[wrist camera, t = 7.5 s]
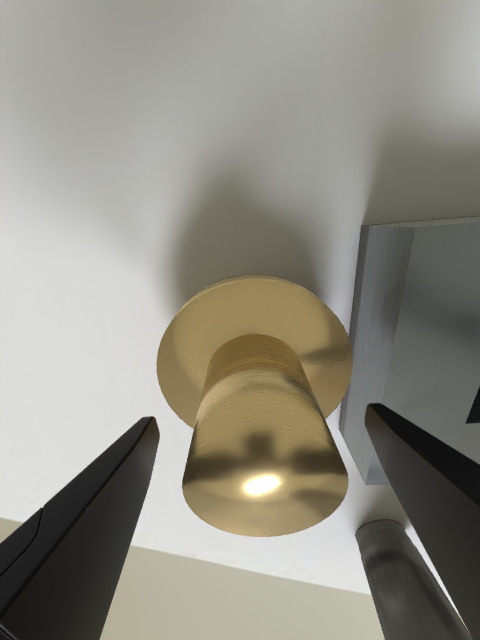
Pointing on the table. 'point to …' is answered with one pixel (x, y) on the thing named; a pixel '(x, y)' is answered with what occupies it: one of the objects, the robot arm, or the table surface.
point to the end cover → (258, 403)
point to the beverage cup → (405, 587)
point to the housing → (416, 335)
